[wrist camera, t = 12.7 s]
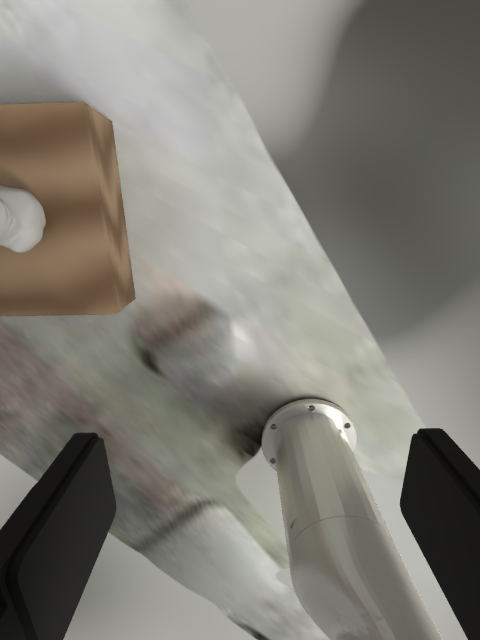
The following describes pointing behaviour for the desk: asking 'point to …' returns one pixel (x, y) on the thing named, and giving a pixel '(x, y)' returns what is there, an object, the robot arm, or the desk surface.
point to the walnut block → (65, 212)
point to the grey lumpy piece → (20, 219)
